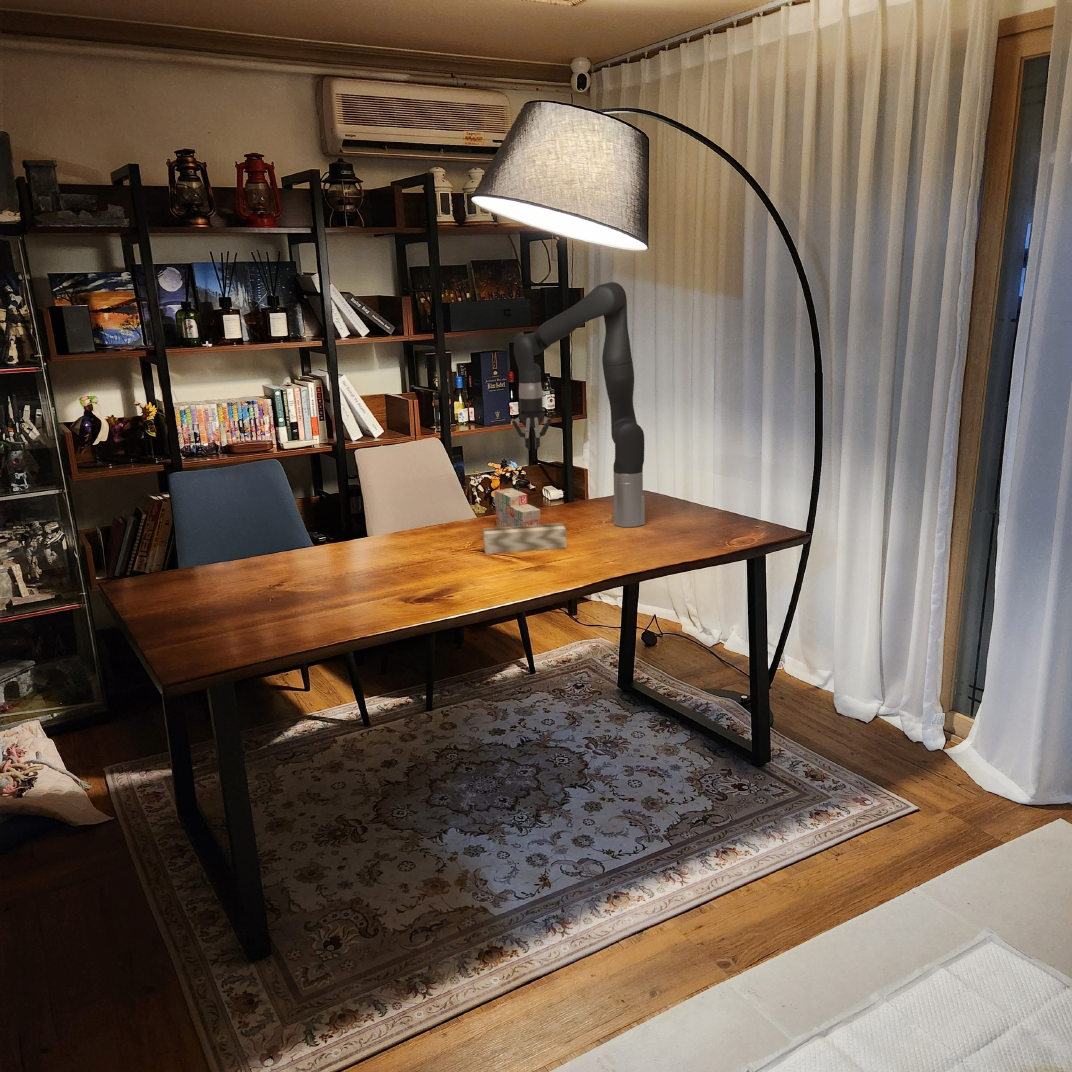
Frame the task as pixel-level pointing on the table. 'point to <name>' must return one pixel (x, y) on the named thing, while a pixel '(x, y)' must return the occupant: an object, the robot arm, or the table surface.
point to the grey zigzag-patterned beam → (524, 538)
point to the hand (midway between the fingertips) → (532, 448)
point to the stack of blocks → (514, 509)
